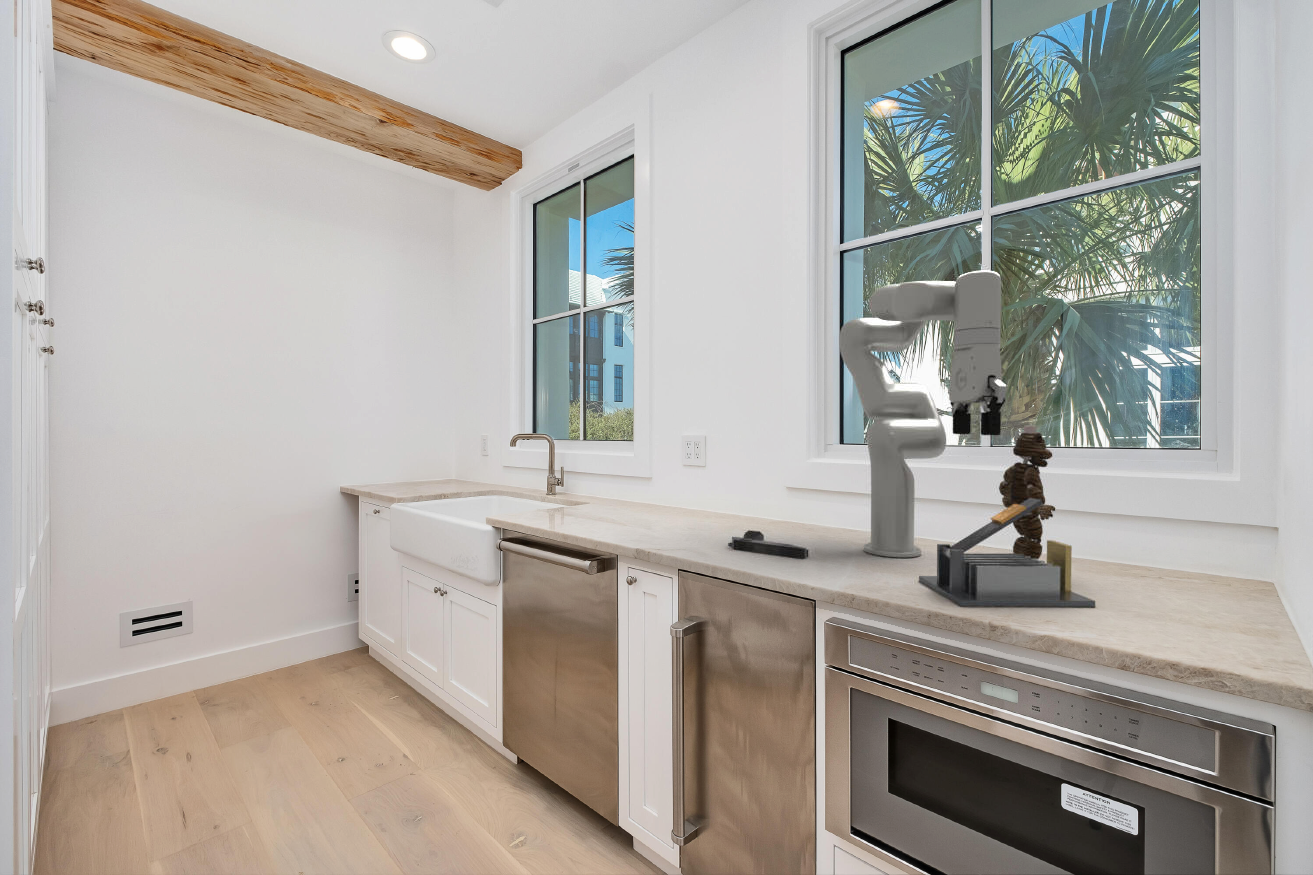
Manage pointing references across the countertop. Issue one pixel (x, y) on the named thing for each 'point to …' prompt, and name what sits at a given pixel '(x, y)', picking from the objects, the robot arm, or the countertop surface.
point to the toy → (1027, 490)
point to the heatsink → (1006, 578)
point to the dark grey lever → (995, 525)
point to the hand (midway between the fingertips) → (975, 434)
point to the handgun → (766, 546)
